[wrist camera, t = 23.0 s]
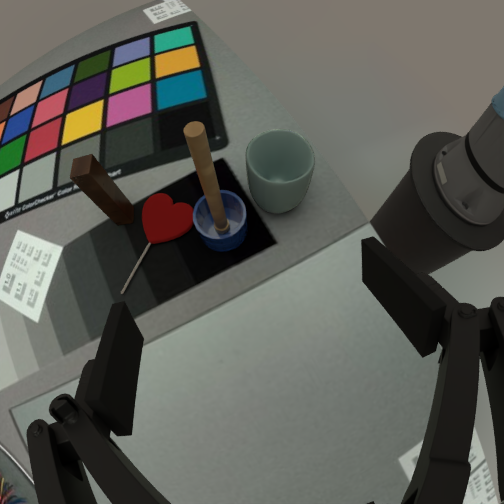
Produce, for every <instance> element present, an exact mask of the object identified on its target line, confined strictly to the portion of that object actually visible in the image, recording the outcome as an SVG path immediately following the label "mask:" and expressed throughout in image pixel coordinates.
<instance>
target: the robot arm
mask: <svg viewBox="0 0 504 504" xmlns="http://www.w3.org/2000/svg"><path fill="white" fill-rule="evenodd" d="M432 176H433V181H434V185H435V187H436V190H437V192H438V194H439V196H440V198H441V199H442V201H443V203H444V204H445V205H446V207H447V208H448V209H449V210H450V211H451V212H452V213H453V214H454V215H455V216H456V217H457V218H458V219H460V220H461V221H463V222H465V223H467V224H469V225H472V226H476V227H483V226H486V225H488V224H490V223H491V222H493V221H494V220H496V219H497V217H498V216H499V215H500V214H501V212H502V210H503V209H504V87H503V88H502V89H501V90H500V92H499V93H498V94H496V95H495V96H494V97H493V98H492V103H491V104H490V105H489V107H488V108H487V109H486V111H485V112H484V113H483V114H482V116H481V117H480V118H479V120H478V121H477V122H476V123H475V125H474V126H473V127H472V128H471V130H470V131H469V132H468V133H467V135H466V136H464V137H462V138H460V139H458V140H456V141H454V142H452V143H449V144H447V145H446V146H444V147H443V148H442V149H441V150H440V151H439V152H438V154H437V155H436V156H435V158H434V160H433V164H432ZM361 246H362V282H363V283H364V284H365V285H366V286H367V288H368V289H369V290H370V291H371V292H372V294H373V295H374V296H375V297H376V299H377V300H378V301H379V302H380V304H381V305H382V306H383V307H384V309H385V310H386V311H387V312H388V314H389V315H390V316H391V317H392V319H393V320H394V321H395V322H396V324H397V325H398V326H399V328H400V329H401V330H402V331H403V333H404V334H405V335H406V337H407V338H408V339H409V341H410V342H411V343H412V345H413V346H414V347H415V348H416V350H417V351H418V352H419V354H420V355H421V356H422V358H423V357H425V356H427V355H429V354H431V353H433V352H435V351H436V348H437V345H438V342H439V344H440V345H441V346H442V347H443V348H442V352H441V355H440V358H439V361H438V363H440V365H439V371H438V377H437V383H436V388H435V394H434V399H433V403H432V408H431V413H430V417H429V421H428V425H427V429H426V433H425V437H424V441H423V444H422V448H421V451H420V455H419V458H418V461H417V465H416V468H415V471H414V474H413V477H412V480H411V482H410V485H409V487H408V489H407V491H406V493H405V495H404V497H403V500H402V502H401V504H462V503H463V500H464V496H465V493H466V489H467V485H468V481H469V476H470V471H471V464H470V463H469V462H468V458H469V452H470V447H471V441H472V435H473V429H474V421H475V414H476V405H477V394H478V381H479V359H481V363H482V367H483V371H484V376H485V381H486V386H487V391H488V396H489V402H490V407H491V414H492V420H493V427H494V436H495V445H496V456H497V471H498V485H499V493H500V499H501V503H500V504H504V297H496V298H494V299H493V300H492V302H491V305H490V307H488V308H482V309H477V308H476V307H475V306H473V305H471V304H468V303H459V302H458V301H457V300H456V299H455V298H454V297H453V296H452V295H450V294H449V293H448V292H447V291H446V290H445V289H444V288H442V286H441V285H440V284H439V283H437V281H435V280H434V279H433V278H432V277H431V276H429V275H427V274H425V273H423V272H421V273H418V274H415V273H413V272H412V271H411V270H410V269H409V268H408V267H407V266H406V265H405V264H404V263H403V262H402V261H400V260H399V259H398V258H397V257H396V256H395V255H394V254H393V253H392V252H390V251H389V250H388V249H387V248H386V247H385V246H384V245H383V244H381V243H380V242H379V241H378V240H377V239H376V238H375V237H369V238H366V239H362V240H361ZM143 341H144V338H143V336H142V334H141V332H140V330H139V328H138V327H137V325H136V323H135V321H134V319H133V317H132V315H131V313H130V311H129V309H128V307H127V305H126V303H125V301H123V302H119V303H115V304H112V307H111V310H110V313H109V316H108V319H107V322H106V325H105V328H104V331H103V334H102V337H101V341H100V344H99V347H98V351H97V354H96V357H95V359H93V360H89V361H88V362H87V363H86V365H85V366H84V368H83V370H82V374H81V378H80V381H79V384H78V388H77V391H76V395H75V398H74V399H73V398H72V397H71V396H70V395H69V394H61V395H59V396H57V397H56V398H55V399H54V400H53V401H52V402H51V404H50V407H49V412H50V415H51V416H52V417H53V418H54V419H55V420H56V421H57V422H55V423H52V424H50V425H48V424H47V423H46V422H45V421H44V420H41V419H38V420H35V421H34V422H32V423H31V424H30V426H29V427H28V429H27V443H28V450H29V457H30V463H31V469H32V474H33V480H34V485H35V489H36V494H37V498H38V502H39V504H97V502H96V499H95V497H94V494H93V491H92V489H91V486H90V483H89V480H88V478H87V475H86V472H85V469H84V466H83V463H84V465H85V466H86V468H87V469H88V471H89V472H90V474H91V475H92V477H93V478H94V480H95V481H96V482H97V484H98V485H99V487H100V488H101V489H102V491H103V492H104V494H105V495H106V496H107V498H108V499H109V500H110V502H111V503H112V504H171V503H170V502H169V501H168V500H167V499H166V498H165V497H164V496H163V495H162V494H161V493H160V492H159V491H158V490H157V489H156V488H155V487H154V486H153V485H152V484H151V483H150V482H149V481H148V480H147V479H146V478H145V477H144V476H143V475H142V473H141V472H140V471H139V470H138V469H137V468H136V467H135V466H134V465H133V463H132V462H131V461H130V460H129V459H128V458H127V456H126V455H125V454H124V453H123V452H122V450H121V449H120V448H119V447H118V446H117V444H116V443H115V442H114V441H113V440H112V439H111V438H110V432H111V431H112V432H113V433H114V434H115V435H116V436H129V435H132V428H133V418H134V408H135V399H136V391H137V383H138V375H139V368H140V361H141V354H142V347H143ZM82 462H83V463H82ZM367 504H375V503H374V501H372V502H370V503H367Z"/></svg>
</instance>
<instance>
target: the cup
mask: <svg viewBox="0 0 504 504" xmlns="http://www.w3.org/2000/svg"><path fill="white" fill-rule="evenodd" d="M314 165H315V157H314V152H313V150H312V148H311V146H310V144H309V143H308V142H307V141H306V139H305V138H304V137H302V136H301V135H300V134H298V133H296V132H294V131H290V130H286V129H274V130H269V131H266V132H263V133H261V134H259V135H257V136H256V137H255V138H253V139H252V140H251V141H250V143H249V144H248V147H247V150H246V171H247V180H248V185H249V189H250V192H251V195H252V197H253V199H254V201H255V202H256V203H257V205H258V206H259V207H261V208H262V209H263V210H265V211H266V212H270V213H284V212H287V211H290V210H292V209H293V208H295V207H296V206H297V205H299V204H300V202H301V201H302V200H303V198H304V197H305V195H306V193H307V190H308V188H309V184H310V181H311V178H312V174H313V170H314Z"/></svg>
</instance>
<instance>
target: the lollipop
mask: <svg viewBox="0 0 504 504" xmlns="http://www.w3.org/2000/svg"><path fill="white" fill-rule="evenodd" d="M193 211H194V210H193V208H192V207H191V206H190V205H188V204H186V203H176V204H173V200H172V199H171V197H169V196H168V195H166V194H163V193H159V194H155V195H152V196H151V197H150V198H149V199H148V200H147V201H146V202H145V204H144V206H143V211H142V222H143V227H144V231H145V234H146V237H147V239H148V241H149V244H148V245H147V247H146V249H145V250H144V252H143V254H142V256H141V257H140V259H139V261H138V262H137V264H136V266H135V268H134V270H133V271H132V273H131V275H130V277H129V278H128V280H127V282H126V284H125V286H124V288H123V289H122V291H121V294H123V293H124V291H125V289H126V288H127V286H128V284H129V282H130V280H131V278H132V277H133V275H134V273H135V271H136V269H137V268H138V266H139V264H140V262H141V261H142V259H143V257H144V255H145V254H146V252H147V250H148V249H149V247H150V245H151V244H156V243H161V242H166V241H170V240H173V239H175V238H178V237H180V236H182V235H183V234H185V233H186V232H188V231H189V230H190V229H191V228H192V226H193V224H194V222H193Z"/></svg>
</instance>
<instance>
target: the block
mask: <svg viewBox="0 0 504 504" xmlns="http://www.w3.org/2000/svg"><path fill="white" fill-rule="evenodd" d="M70 179H71V180H72V181H73V182H74V183H75V184H76V185H77V186H78V187H79V188H80V189H81V190H82V191H83V192H84V193H85V194H86V195H87V196H88V197H89V198H90V199H91V200H92V201H93V202H94V203H95V204H96V205H97V206H98V207H99V208H100V209H101V210H102V211H103V212H104V213H105V214H106V215H107V216H108V217H109V218H110V219H111V220H112V221H113V222H114V223H116V224H117V225H123V224H129V223H133V217H134V206H133V205H132V204H131V203H130V201H129V200H128V199H127V198H126V196H125V195H124V194H123V193H122V191H121V190H120V189H119V188H118V186H117V185H116V184H115V183H114V181H113V180H112V179H111V178H110V176H109V175H108V174H107V172H106V171H105V170H104V169H103V167H102V166H101V165H100V163H99V162H98V161H97V160H96V158H95V157H94V156H93V154H90V155H86V156H82V157H79V158H75V159H73V164H72V169H71V174H70Z"/></svg>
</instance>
